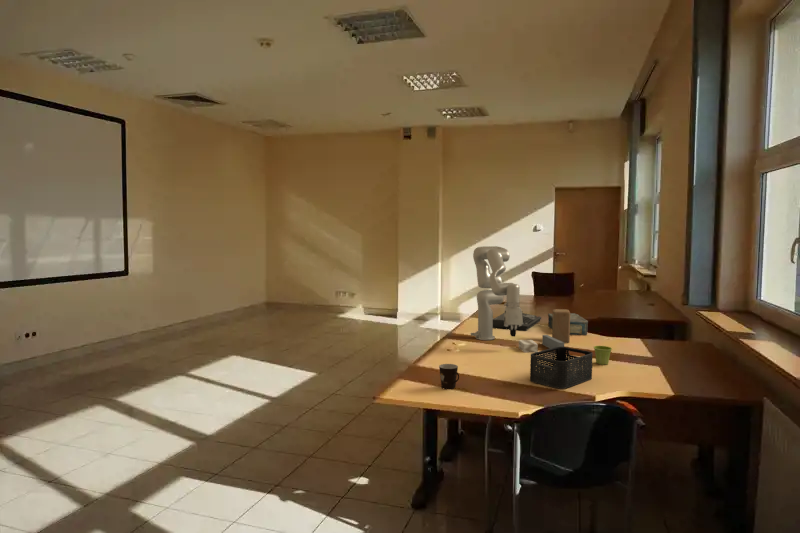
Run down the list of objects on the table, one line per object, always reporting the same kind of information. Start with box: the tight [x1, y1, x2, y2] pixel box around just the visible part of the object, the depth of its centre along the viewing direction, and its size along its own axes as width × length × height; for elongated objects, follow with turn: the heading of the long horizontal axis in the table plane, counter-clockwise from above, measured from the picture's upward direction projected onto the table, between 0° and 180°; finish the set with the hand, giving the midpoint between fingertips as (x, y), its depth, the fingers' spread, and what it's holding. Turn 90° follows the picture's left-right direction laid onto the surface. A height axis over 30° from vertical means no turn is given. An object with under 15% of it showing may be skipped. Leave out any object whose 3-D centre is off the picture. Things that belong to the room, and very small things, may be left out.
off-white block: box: [518, 339, 539, 353], centre depth 323 cm, size 8×12×5 cm, turn 3°
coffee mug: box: [438, 363, 460, 390], centre depth 249 cm, size 12×9×10 cm
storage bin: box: [529, 346, 594, 390], centre depth 262 cm, size 29×19×13 cm
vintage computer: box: [493, 310, 542, 332], centre depth 402 cm, size 43×29×8 cm
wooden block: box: [551, 308, 571, 344], centre depth 345 cm, size 10×10×20 cm
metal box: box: [547, 312, 589, 336], centre depth 379 cm, size 21×32×10 cm, turn 176°
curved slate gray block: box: [541, 334, 565, 349], centre depth 326 cm, size 3×22×6 cm, turn 11°
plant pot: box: [593, 345, 613, 366], centre depth 292 cm, size 9×9×9 cm
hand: (513, 336), depth 320 cm, fingers closed
